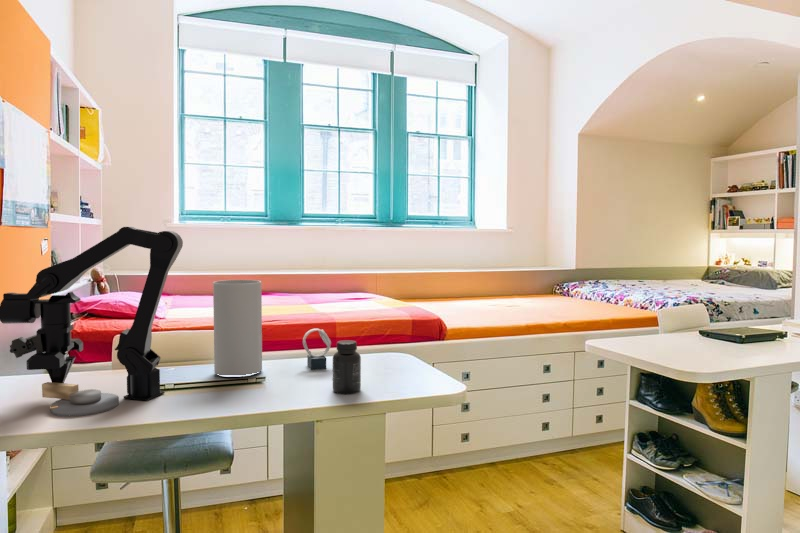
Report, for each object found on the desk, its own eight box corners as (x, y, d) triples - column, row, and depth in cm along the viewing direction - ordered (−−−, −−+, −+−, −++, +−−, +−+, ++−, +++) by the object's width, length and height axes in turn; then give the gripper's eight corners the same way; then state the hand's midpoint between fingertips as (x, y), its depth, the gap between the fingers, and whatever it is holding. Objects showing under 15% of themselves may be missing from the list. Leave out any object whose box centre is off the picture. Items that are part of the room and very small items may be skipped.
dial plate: (132, 400, 127) (131, 394, 127) (87, 419, 115) (87, 412, 114) (84, 396, 130) (84, 390, 130) (35, 413, 118) (35, 407, 118)
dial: (107, 397, 125) (106, 383, 124) (86, 405, 119) (86, 390, 119) (56, 393, 127) (55, 379, 127) (33, 401, 122) (33, 386, 121)
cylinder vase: (205, 377, 148) (203, 283, 146) (229, 366, 160) (228, 279, 158) (248, 380, 145) (247, 284, 143) (270, 369, 157) (269, 280, 155)
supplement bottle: (356, 385, 141) (357, 338, 140) (363, 393, 134) (363, 343, 133) (330, 387, 138) (330, 340, 138) (335, 395, 132) (335, 345, 131)
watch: (333, 368, 158) (333, 329, 158) (304, 370, 156) (304, 331, 155) (328, 363, 164) (328, 326, 163) (301, 365, 161) (301, 328, 160)
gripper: (30, 316, 132) (32, 381, 134) (-4, 331, 114) (-1, 406, 116) (82, 315, 135) (84, 378, 136) (57, 330, 117) (59, 402, 119)
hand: (57, 390), depth 127 cm, fingers closed
